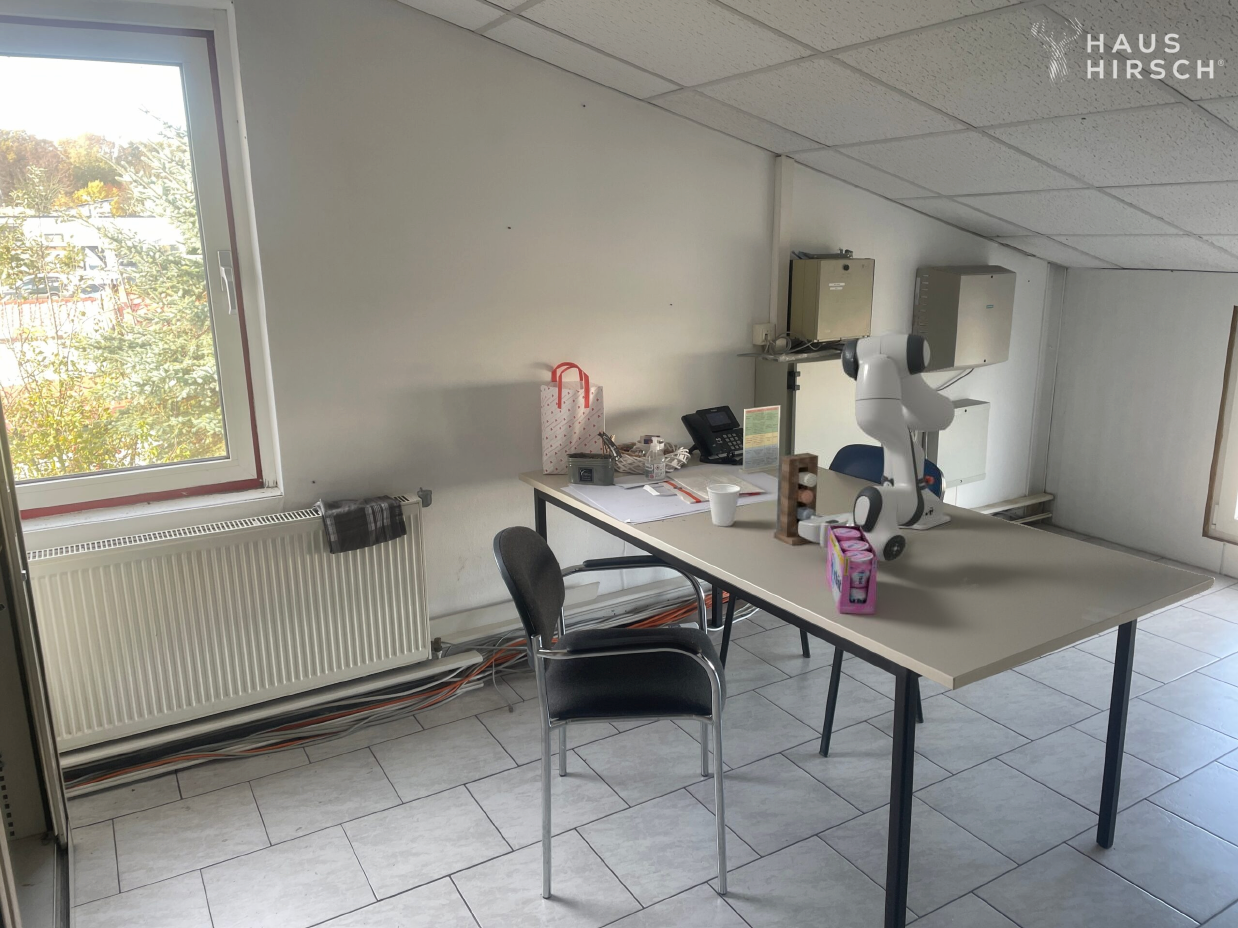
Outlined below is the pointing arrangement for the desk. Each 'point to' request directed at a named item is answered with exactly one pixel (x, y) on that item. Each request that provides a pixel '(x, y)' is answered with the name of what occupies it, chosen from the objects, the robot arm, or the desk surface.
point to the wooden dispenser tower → (793, 495)
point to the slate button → (805, 513)
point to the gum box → (851, 569)
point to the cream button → (807, 479)
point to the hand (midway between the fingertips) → (814, 517)
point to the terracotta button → (804, 496)
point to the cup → (723, 503)
